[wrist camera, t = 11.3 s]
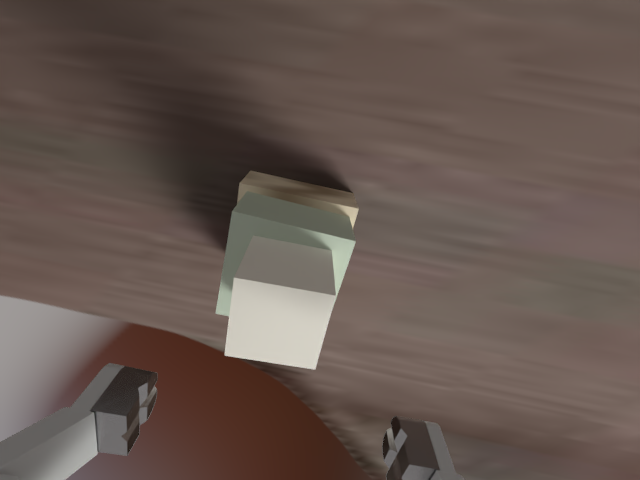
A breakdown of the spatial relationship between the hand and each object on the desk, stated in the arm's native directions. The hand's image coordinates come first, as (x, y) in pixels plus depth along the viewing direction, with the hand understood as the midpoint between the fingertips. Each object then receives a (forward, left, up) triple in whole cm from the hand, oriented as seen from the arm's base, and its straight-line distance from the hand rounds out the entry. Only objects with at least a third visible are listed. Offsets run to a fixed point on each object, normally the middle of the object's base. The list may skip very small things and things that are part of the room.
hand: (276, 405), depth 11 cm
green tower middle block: (+1, +1, -13) cm, 13 cm away
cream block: (0, 0, -9) cm, 9 cm away
